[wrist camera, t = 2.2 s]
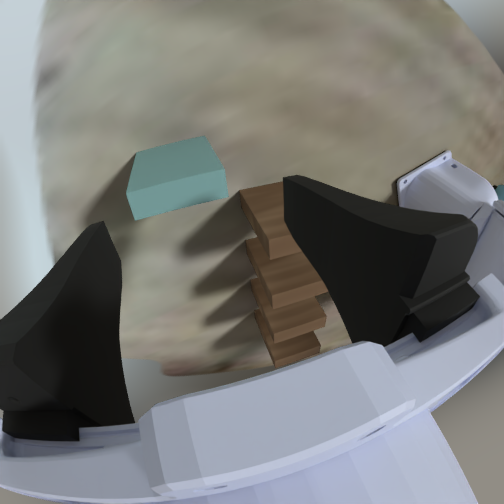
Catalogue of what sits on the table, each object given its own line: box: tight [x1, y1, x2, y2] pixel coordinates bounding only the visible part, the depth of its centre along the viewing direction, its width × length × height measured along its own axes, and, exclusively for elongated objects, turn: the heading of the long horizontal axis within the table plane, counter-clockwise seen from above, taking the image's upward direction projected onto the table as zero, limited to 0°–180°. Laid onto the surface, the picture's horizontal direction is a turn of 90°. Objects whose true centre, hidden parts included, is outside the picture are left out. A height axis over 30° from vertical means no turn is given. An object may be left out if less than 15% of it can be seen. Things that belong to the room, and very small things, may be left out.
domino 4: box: [254, 309, 321, 368], centre depth 30 cm, size 2×5×7 cm, turn 95°
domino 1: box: [239, 182, 301, 260], centre depth 21 cm, size 2×5×7 cm, turn 95°
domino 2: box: [246, 237, 329, 309], centre depth 24 cm, size 2×5×7 cm, turn 95°
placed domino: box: [126, 136, 229, 221], centre depth 16 cm, size 2×5×7 cm, turn 95°
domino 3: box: [251, 278, 327, 344], centre depth 27 cm, size 2×5×7 cm, turn 95°
